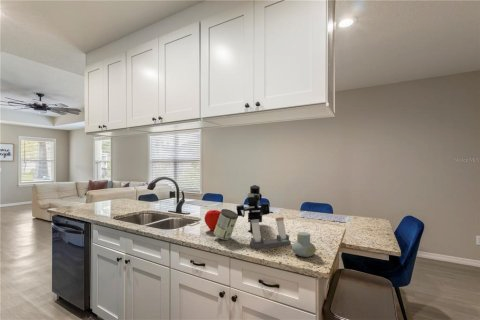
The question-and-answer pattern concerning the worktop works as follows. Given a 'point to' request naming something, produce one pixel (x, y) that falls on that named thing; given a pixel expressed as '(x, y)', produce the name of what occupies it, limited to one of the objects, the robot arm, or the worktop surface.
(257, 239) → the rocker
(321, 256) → the worktop surface
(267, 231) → the worktop surface
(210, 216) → the apple
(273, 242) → the switch base
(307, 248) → the air freshener
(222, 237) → the coffee can
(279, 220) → the block
